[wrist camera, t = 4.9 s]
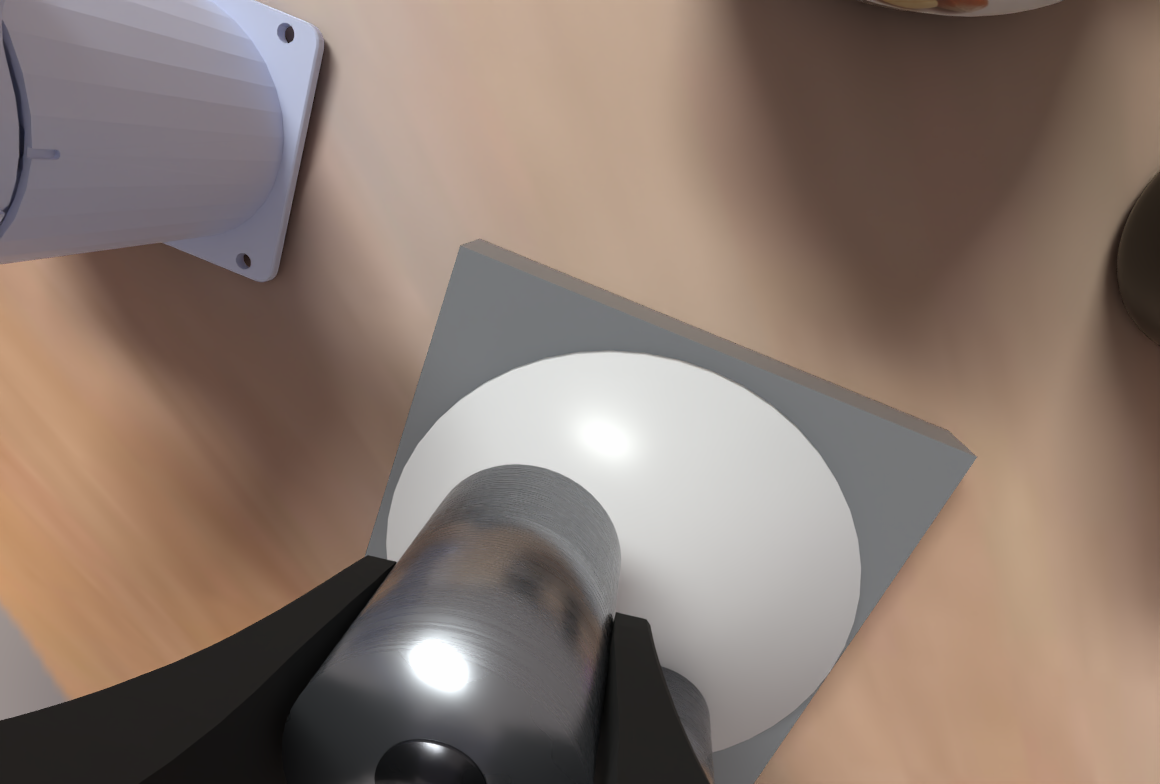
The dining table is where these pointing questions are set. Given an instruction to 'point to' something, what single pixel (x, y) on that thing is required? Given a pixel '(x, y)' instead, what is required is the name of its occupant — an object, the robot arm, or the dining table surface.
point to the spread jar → (963, 6)
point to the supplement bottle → (1142, 262)
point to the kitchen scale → (680, 479)
